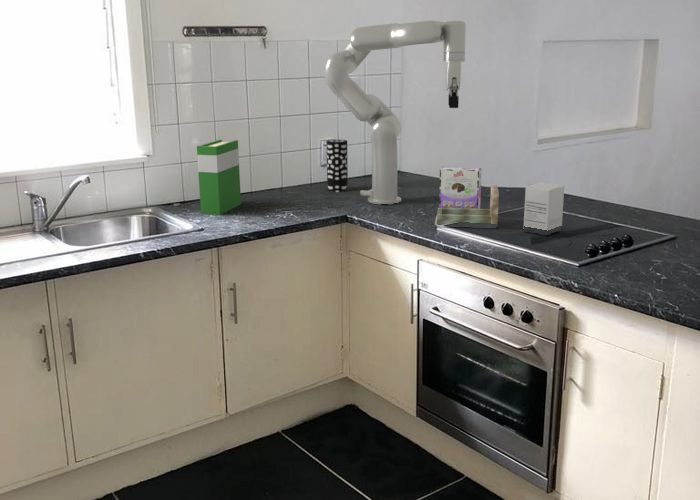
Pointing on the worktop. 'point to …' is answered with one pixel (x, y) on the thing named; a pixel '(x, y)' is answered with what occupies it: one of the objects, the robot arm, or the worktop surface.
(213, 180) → the hardback book
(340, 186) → the white-spotted black cylinder
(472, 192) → the candy box
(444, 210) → the khaki l-shaped bracket
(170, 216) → the worktop surface
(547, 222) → the supplement box
